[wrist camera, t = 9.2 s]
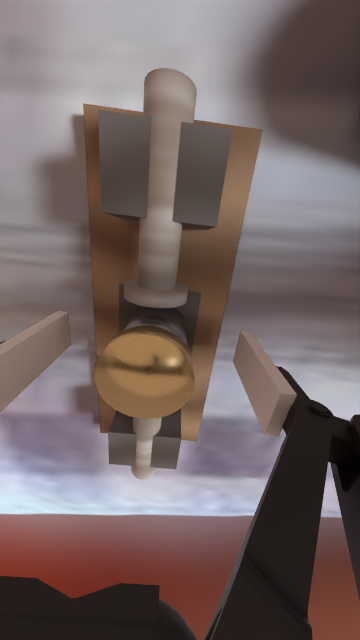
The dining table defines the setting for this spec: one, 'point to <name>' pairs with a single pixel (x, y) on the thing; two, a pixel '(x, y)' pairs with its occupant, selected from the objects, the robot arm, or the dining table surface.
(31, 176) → the dining table surface
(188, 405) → the shaft bench
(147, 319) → the knob
